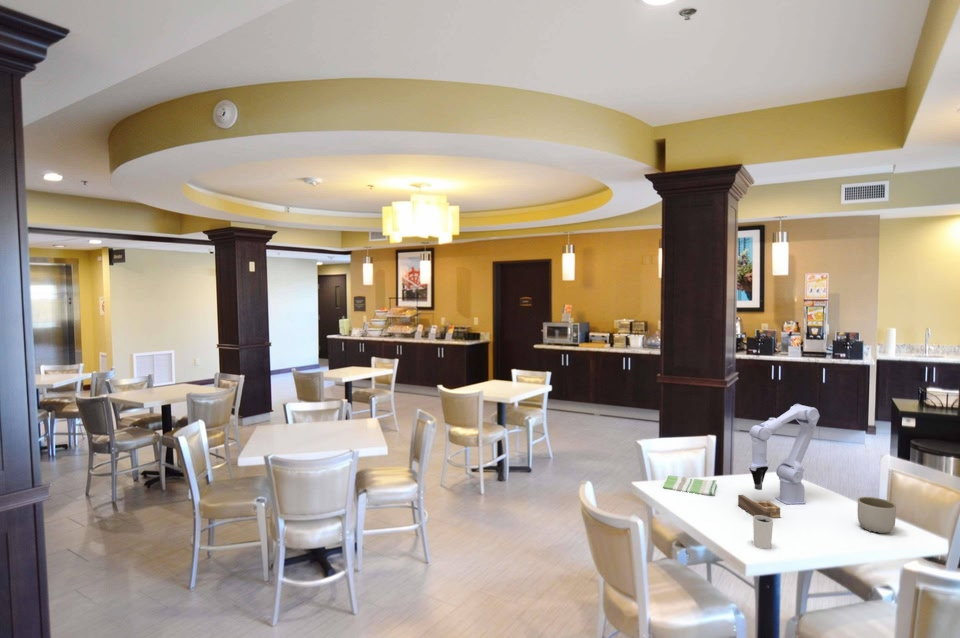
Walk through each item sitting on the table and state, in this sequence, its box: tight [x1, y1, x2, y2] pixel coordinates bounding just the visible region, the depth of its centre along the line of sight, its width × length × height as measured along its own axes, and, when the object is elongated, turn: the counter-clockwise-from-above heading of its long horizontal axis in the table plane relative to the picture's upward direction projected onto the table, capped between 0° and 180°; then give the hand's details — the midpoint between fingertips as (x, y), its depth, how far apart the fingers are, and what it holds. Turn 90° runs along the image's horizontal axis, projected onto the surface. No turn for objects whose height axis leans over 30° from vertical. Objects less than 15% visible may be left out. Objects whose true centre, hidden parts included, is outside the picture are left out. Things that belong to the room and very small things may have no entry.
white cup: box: [752, 515, 774, 550], centre depth 208 cm, size 7×7×10 cm
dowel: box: [754, 476, 763, 491], centre depth 249 cm, size 3×3×8 cm
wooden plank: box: [737, 494, 770, 517], centre depth 237 cm, size 2×20×5 cm, turn 5°
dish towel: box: [662, 474, 718, 497], centre depth 271 cm, size 17×23×4 cm
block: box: [752, 500, 781, 519], centre depth 237 cm, size 8×8×4 cm
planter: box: [857, 496, 897, 534], centre depth 223 cm, size 12×12×11 cm
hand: (758, 483), depth 249 cm, fingers closed on dowel, 3 cm apart
